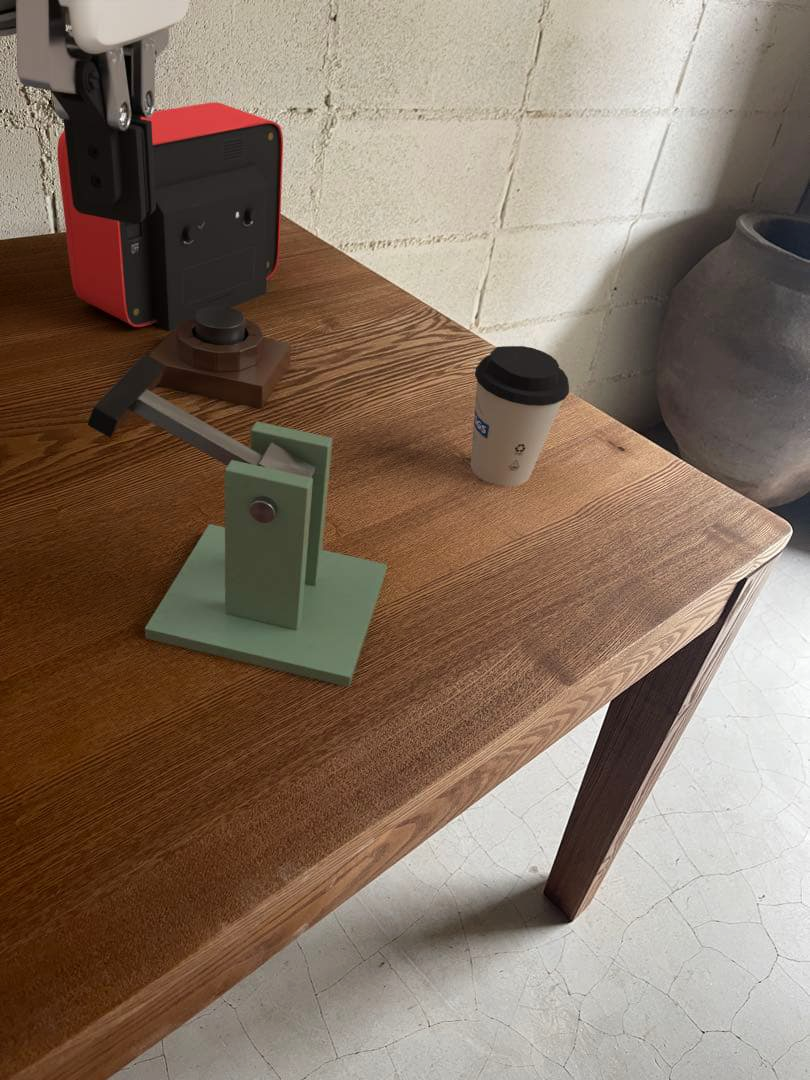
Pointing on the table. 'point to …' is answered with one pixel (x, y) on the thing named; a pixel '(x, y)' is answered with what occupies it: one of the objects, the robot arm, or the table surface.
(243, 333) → the button
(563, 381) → the coffee cup
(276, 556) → the bracket
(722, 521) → the table surface
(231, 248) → the alarm clock
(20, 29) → the robot arm
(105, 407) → the lever
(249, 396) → the button box
